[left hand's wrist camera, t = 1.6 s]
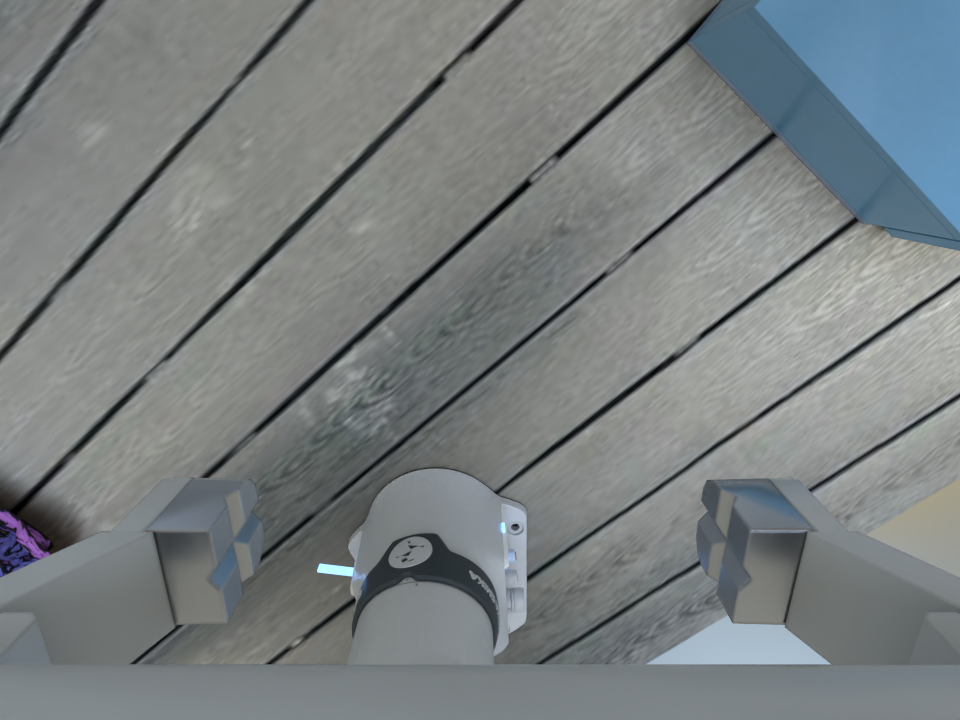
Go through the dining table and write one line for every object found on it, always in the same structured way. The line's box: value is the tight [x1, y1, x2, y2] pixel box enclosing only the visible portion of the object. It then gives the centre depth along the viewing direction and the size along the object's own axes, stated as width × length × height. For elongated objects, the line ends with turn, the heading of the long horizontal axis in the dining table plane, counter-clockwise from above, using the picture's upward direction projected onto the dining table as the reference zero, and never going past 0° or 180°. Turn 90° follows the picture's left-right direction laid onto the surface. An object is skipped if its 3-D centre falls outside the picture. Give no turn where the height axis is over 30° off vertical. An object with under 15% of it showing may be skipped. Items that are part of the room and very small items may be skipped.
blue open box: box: [687, 0, 960, 240], centre depth 39 cm, size 22×11×11 cm, turn 51°
